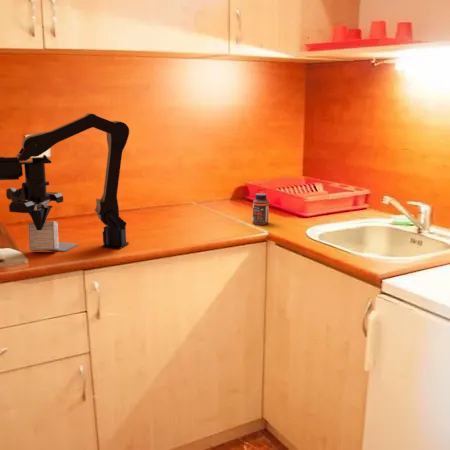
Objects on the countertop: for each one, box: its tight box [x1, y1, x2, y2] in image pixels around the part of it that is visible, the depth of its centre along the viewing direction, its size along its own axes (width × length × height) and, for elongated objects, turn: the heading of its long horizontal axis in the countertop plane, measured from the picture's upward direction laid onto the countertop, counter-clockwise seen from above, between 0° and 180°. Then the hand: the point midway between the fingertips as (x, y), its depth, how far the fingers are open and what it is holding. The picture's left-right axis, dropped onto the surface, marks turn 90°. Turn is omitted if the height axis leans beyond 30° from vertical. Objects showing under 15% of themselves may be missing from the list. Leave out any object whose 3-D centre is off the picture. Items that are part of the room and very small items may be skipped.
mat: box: [49, 241, 80, 253], centre depth 172 cm, size 9×8×1 cm
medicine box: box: [27, 220, 60, 252], centre depth 166 cm, size 8×4×9 cm, turn 92°
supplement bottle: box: [252, 192, 270, 226], centre depth 202 cm, size 6×6×11 cm
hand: (39, 230), depth 163 cm, fingers closed
